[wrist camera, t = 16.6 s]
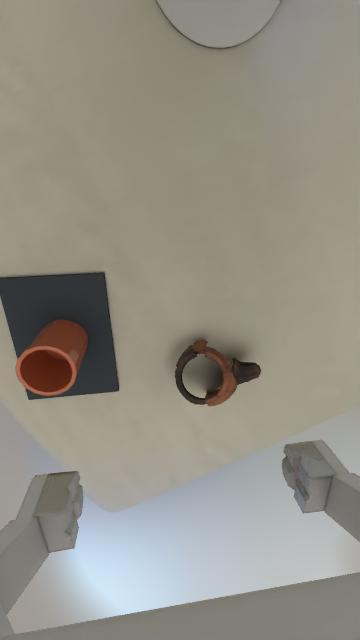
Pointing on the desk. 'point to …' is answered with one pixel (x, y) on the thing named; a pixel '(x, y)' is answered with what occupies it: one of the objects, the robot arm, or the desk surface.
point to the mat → (64, 304)
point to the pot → (53, 358)
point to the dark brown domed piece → (230, 378)
